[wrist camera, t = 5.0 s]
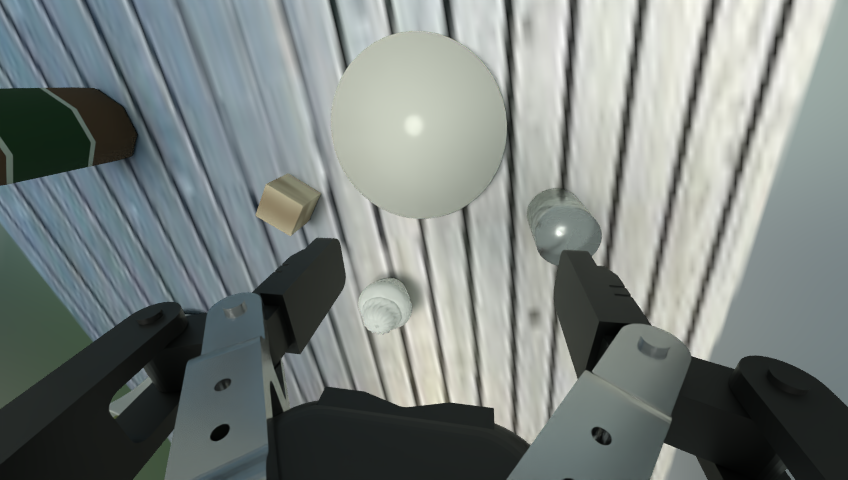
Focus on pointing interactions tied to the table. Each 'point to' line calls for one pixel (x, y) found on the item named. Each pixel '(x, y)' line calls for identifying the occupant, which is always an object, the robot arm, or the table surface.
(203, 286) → the table surface
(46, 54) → the table surface
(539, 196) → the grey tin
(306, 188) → the brass block
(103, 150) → the beer bottle
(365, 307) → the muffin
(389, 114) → the white bowl
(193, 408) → the robot arm
